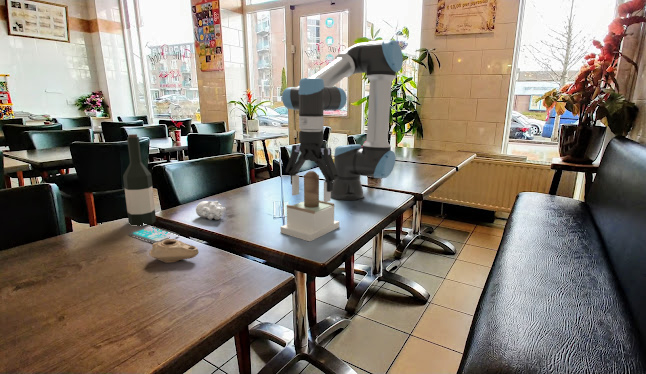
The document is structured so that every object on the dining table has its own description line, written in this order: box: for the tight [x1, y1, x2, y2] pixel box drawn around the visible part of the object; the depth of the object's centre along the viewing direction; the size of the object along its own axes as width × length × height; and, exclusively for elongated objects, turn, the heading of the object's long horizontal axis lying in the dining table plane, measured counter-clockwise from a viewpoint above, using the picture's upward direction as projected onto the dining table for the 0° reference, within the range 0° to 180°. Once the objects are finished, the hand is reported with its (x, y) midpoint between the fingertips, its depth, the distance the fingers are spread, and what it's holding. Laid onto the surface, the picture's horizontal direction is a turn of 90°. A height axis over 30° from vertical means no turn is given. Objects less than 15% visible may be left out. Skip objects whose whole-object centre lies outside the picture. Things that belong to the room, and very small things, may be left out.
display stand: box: [280, 199, 340, 242], centre depth 113 cm, size 16×12×9 cm
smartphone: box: [128, 226, 181, 243], centre depth 108 cm, size 9×1×15 cm
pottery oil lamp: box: [148, 239, 199, 264], centre depth 91 cm, size 9×12×7 cm
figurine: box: [195, 200, 227, 221], centre depth 124 cm, size 7×7×12 cm
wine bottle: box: [122, 133, 157, 227], centre depth 116 cm, size 8×8×30 cm
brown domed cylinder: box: [303, 170, 320, 208], centre depth 111 cm, size 5×5×11 cm
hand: (310, 197), depth 112 cm, fingers open, 12 cm apart
